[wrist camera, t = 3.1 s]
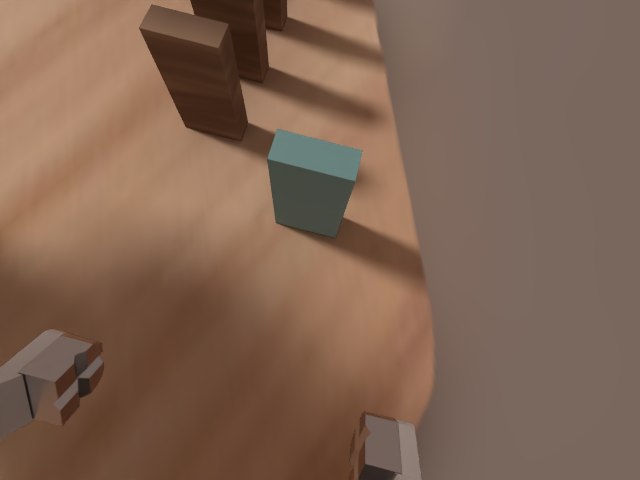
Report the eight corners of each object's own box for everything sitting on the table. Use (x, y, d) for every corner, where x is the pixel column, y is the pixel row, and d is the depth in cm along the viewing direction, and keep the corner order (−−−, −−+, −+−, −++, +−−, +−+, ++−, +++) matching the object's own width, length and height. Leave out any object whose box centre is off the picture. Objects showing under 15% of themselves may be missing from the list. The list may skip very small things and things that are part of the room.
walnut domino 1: (241, 141, 31) (218, 47, 22) (185, 126, 31) (138, 27, 22) (247, 122, 32) (228, 24, 22) (193, 108, 32) (151, 4, 22)
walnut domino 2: (262, 82, 33) (250, -26, 24) (210, 69, 33) (177, -44, 24) (268, 66, 34) (258, -46, 24) (217, 53, 34) (188, -64, 25)
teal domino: (335, 238, 29) (355, 181, 20) (275, 222, 29) (267, 158, 20) (340, 215, 30) (362, 150, 20) (282, 200, 30) (277, 128, 20)
